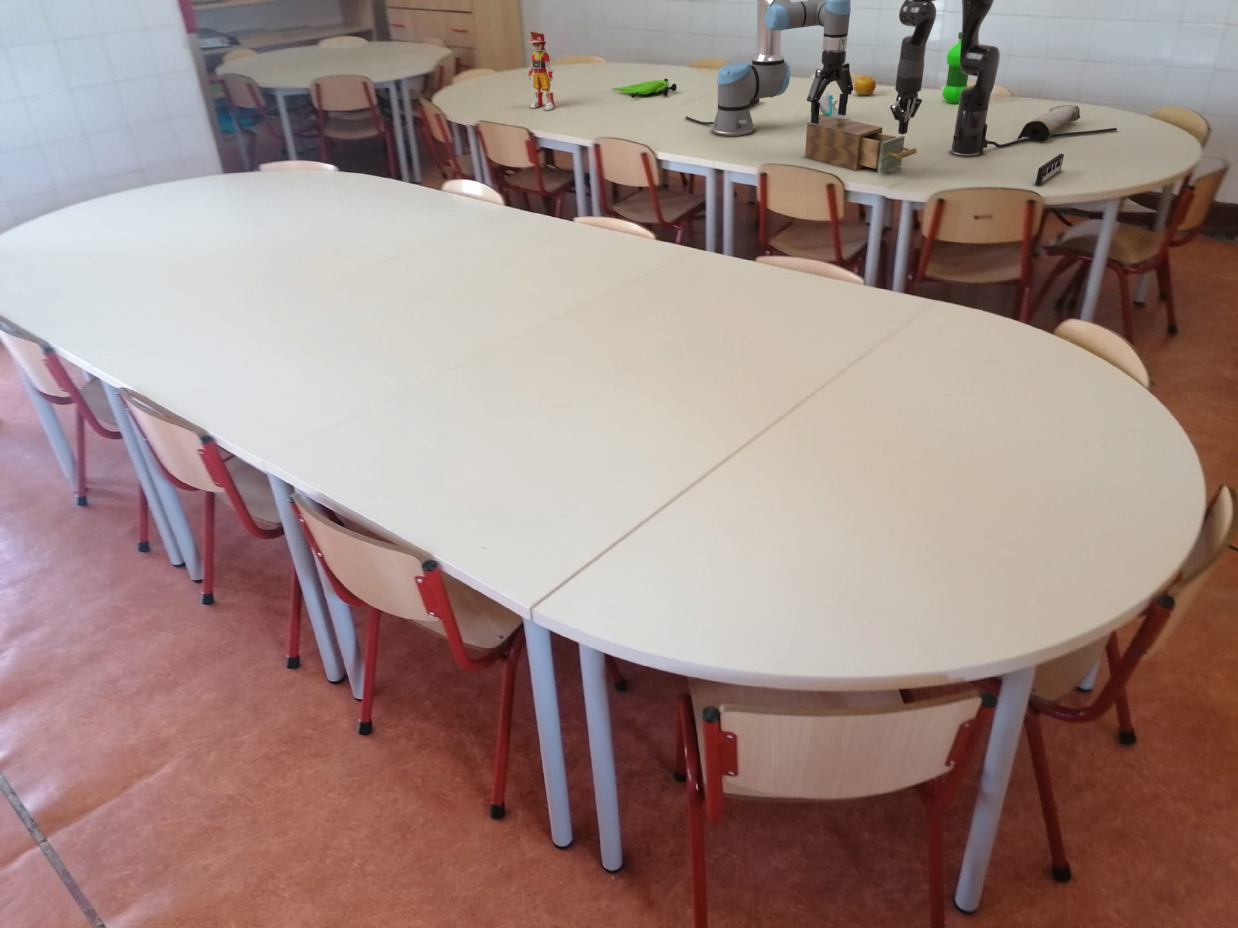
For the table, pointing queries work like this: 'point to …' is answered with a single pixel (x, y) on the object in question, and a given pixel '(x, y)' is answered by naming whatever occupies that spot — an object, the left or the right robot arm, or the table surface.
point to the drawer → (883, 151)
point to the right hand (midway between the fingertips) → (902, 133)
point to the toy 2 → (648, 88)
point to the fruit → (864, 85)
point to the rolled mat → (1049, 122)
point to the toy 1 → (541, 71)
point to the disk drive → (753, 102)
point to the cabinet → (837, 141)
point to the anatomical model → (830, 107)
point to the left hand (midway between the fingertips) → (828, 119)
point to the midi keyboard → (1049, 169)
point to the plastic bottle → (954, 75)
